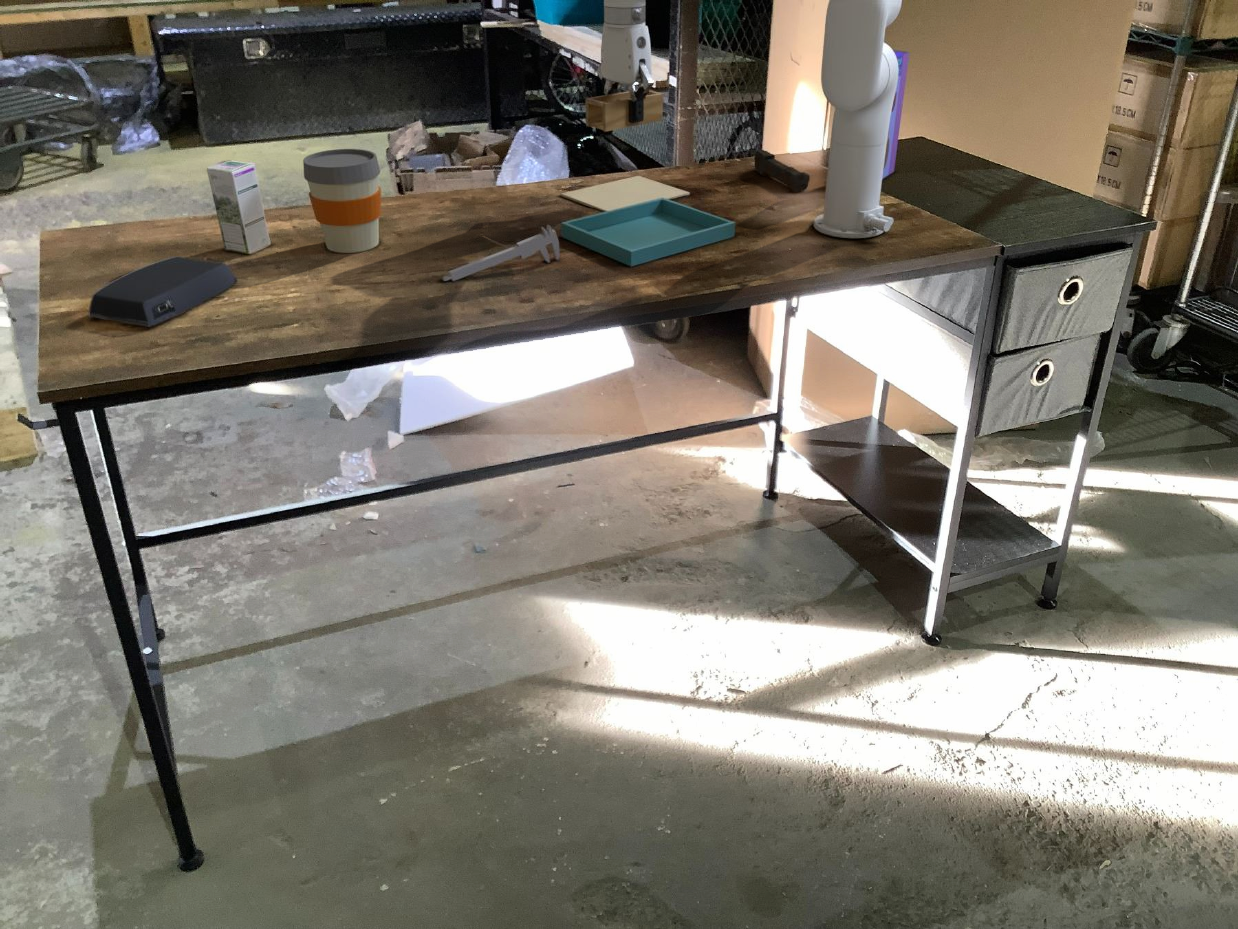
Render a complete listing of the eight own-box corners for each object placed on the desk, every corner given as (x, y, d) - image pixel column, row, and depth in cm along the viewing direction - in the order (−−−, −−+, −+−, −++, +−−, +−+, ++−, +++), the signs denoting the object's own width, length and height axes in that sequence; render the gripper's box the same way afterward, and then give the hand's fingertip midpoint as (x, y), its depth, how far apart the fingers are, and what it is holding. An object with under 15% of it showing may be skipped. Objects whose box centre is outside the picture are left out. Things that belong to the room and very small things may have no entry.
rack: (662, 120, 196) (663, 93, 194) (605, 131, 189) (605, 103, 186) (642, 115, 200) (642, 88, 198) (585, 125, 193) (585, 98, 190)
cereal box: (863, 192, 203) (877, 64, 190) (840, 188, 205) (853, 62, 193) (893, 171, 215) (909, 50, 203) (872, 168, 217) (886, 48, 205)
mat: (689, 194, 202) (689, 192, 202) (610, 214, 192) (610, 212, 191) (638, 177, 213) (638, 175, 213) (560, 195, 203) (560, 193, 202)
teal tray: (734, 237, 180) (735, 222, 179) (631, 267, 168) (631, 251, 166) (662, 211, 193) (662, 197, 192) (561, 237, 181) (560, 222, 179)
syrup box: (272, 244, 179) (256, 161, 171) (248, 255, 174) (231, 170, 167) (247, 240, 181) (230, 158, 173) (223, 251, 176) (204, 166, 169)
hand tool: (809, 191, 203) (811, 168, 201) (791, 193, 202) (793, 170, 200) (766, 168, 219) (768, 146, 216) (749, 170, 218) (751, 147, 215)
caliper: (557, 259, 171) (555, 222, 168) (559, 261, 170) (558, 224, 167) (442, 280, 163) (438, 242, 160) (444, 283, 162) (440, 244, 159)
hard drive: (85, 318, 151) (77, 292, 149) (177, 274, 166) (172, 250, 164) (154, 331, 147) (147, 304, 145) (242, 285, 162) (237, 260, 160)
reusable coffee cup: (403, 243, 179) (393, 156, 171) (342, 261, 171) (328, 171, 163) (361, 227, 186) (350, 144, 178) (301, 245, 178) (286, 158, 171)
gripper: (671, 19, 181) (669, 123, 191) (611, 9, 193) (612, 108, 202) (639, 23, 177) (638, 129, 187) (579, 13, 189) (581, 113, 198)
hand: (624, 117), depth 194 cm, fingers closed on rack, 6 cm apart
